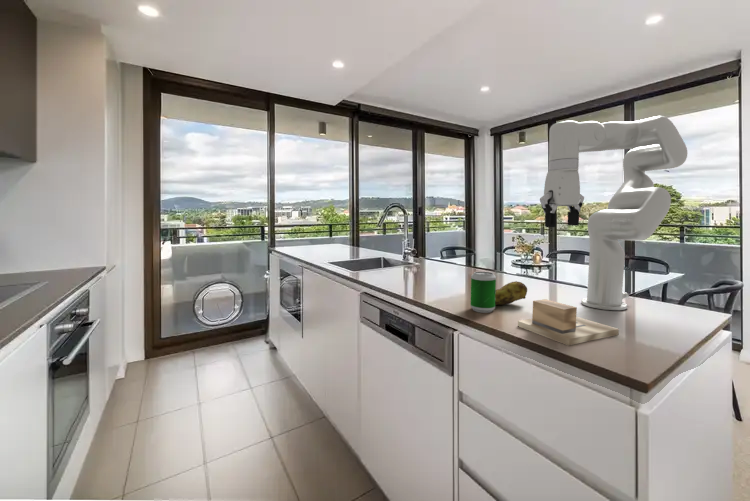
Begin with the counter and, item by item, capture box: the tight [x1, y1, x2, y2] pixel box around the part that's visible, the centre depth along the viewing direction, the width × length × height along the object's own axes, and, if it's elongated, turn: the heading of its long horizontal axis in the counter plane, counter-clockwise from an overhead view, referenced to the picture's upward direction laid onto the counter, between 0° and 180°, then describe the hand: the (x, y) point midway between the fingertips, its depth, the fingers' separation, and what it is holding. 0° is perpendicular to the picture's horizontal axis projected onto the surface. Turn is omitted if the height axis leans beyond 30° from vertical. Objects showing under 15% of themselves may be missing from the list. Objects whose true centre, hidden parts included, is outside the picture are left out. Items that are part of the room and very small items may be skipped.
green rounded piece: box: [495, 280, 528, 306], centre depth 113 cm, size 8×13×8 cm, turn 76°
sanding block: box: [531, 299, 578, 334], centre depth 86 cm, size 4×9×6 cm, turn 22°
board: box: [517, 316, 620, 346], centre depth 88 cm, size 18×15×2 cm
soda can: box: [470, 271, 497, 314], centre depth 107 cm, size 8×8×12 cm
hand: (561, 226), depth 99 cm, fingers open, 9 cm apart
